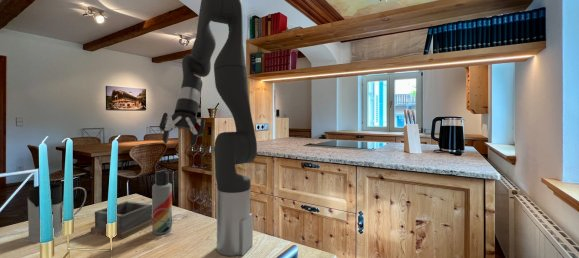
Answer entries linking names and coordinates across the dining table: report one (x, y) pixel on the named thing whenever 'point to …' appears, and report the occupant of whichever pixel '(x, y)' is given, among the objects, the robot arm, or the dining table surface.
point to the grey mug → (56, 209)
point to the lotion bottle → (162, 203)
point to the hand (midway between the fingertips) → (178, 144)
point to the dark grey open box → (125, 219)
